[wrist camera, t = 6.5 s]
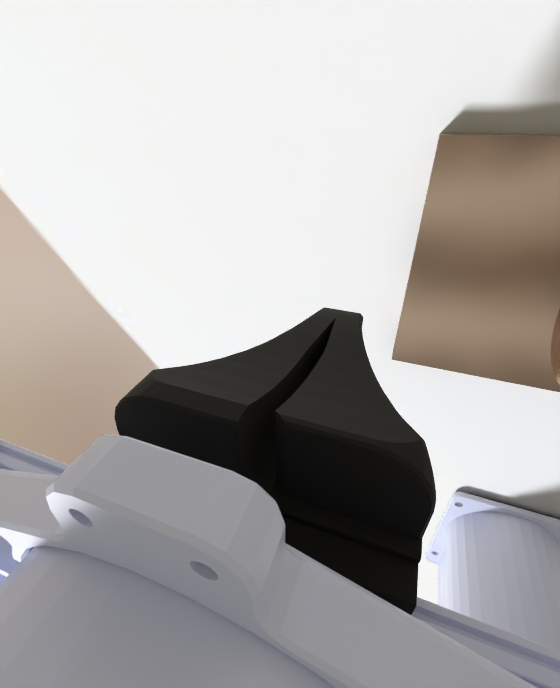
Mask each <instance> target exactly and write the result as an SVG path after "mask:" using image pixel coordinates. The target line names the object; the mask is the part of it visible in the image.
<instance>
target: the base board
mask: <svg viewBox="0 0 560 688" xmlns="http://www.w3.org/2000/svg"><path fill="white" fill-rule="evenodd" d="M559 309H560V135H505V134H443V133H440V135H439V140H438V145H437V149H436V154H435V159H434V163H433V168H432V172H431V177H430V182H429V186H428V191H427V196H426V200H425V205H424V210H423V214H422V219H421V224H420V228H419V233H418V238H417V242H416V247H415V252H414V256H413V261H412V266H411V270H410V275H409V280H408V284H407V289H406V294H405V298H404V303H403V308H402V312H401V317H400V322H399V326H398V331H397V336H396V340H395V345H394V350H393V355H392V360H397V361H403V362H408V363H413V364H418V365H423V366H428V367H433V368H439V369H444V370H449V371H454V372H459V373H464V374H469V375H474V376H480V377H485V378H490V379H495V380H500V381H505V382H510V383H516V384H521V385H526V386H531V387H536V388H541V389H546V390H551V391H557V392H560V385H559V383H558V382H557V380H556V378H555V376H554V373H553V369H552V364H551V341H552V334H553V329H554V325H555V321H556V317H557V314H558V312H559Z"/></svg>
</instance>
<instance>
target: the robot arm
mask: <svg viewBox="0 0 560 688" xmlns="http://www.w3.org/2000/svg"><path fill="white" fill-rule="evenodd" d="M362 322H363V316H362V315H361V314H360V313H354V312H348V311H342V310H336V309H330V308H323V309H321V310H320V311H318V312H317V313H315V314H314V315H312V316H311V317H309V318H308V319H306V320H305V321H303V322H301V323H300V324H298V325H297V326H295V327H294V328H292V329H290V330H288V331H286V332H285V333H283V334H281V335H279V336H277V337H276V338H274V339H272V340H270V341H268V342H265V343H263V344H261V345H259V346H256V347H254V348H251V349H249V350H246V351H243V352H240V353H237V354H234V355H230V356H227V357H224V358H221V359H217V360H212V361H208V362H204V363H199V364H194V365H188V366H181V367H173V368H165V369H156V370H153V371H151V372H150V373H149V374H148V375H147V376H146V377H145V378H144V379H143V380H142V381H141V382H140V383H138V384H137V385H136V386H135V387H134V388H133V389H132V390H131V391H130V392H129V393H128V394H127V395H126V396H125V397H124V398H122V399H121V400H120V402H119V403H118V405H117V406H116V409H115V421H116V426H117V429H118V432H119V435H111V434H109V435H108V434H103V435H102V436H101V437H99V438H98V439H97V440H95V441H94V442H93V443H92V444H91V445H90V446H89V447H88V448H87V449H86V450H85V451H84V452H83V453H82V454H81V455H80V456H79V457H78V458H77V459H76V460H75V461H74V462H73V463H72V464H71V465H67V464H65V463H62V462H59V461H57V460H54V459H52V458H49V457H46V456H44V455H41V454H38V453H36V452H33V451H31V450H28V449H25V448H23V447H19V446H17V445H15V444H12V443H9V442H7V441H4V440H2V439H0V688H560V520H559V519H556V518H552V517H549V516H545V515H542V514H538V513H535V512H531V511H528V510H524V509H520V508H517V507H513V506H510V505H506V504H503V503H499V502H496V501H492V500H489V499H485V498H482V497H478V496H475V495H471V494H468V493H464V492H455V493H454V494H453V495H452V497H451V499H450V502H449V504H448V506H447V508H446V510H445V512H444V515H443V517H442V519H441V521H440V523H439V525H438V528H437V530H436V532H435V534H434V536H433V538H432V541H431V543H430V545H429V547H428V549H427V551H426V559H427V560H428V561H430V562H433V563H436V564H438V605H437V604H434V603H431V602H429V601H426V600H423V599H421V598H418V597H417V580H418V563H419V562H420V560H421V553H422V537H423V535H424V533H425V530H426V528H427V526H428V524H429V521H430V519H431V517H432V514H433V512H434V508H435V503H436V490H435V482H434V476H433V471H432V466H431V462H430V458H429V454H428V451H427V447H426V444H425V441H424V440H423V439H422V438H421V437H420V436H419V435H418V434H417V432H416V431H415V430H414V429H413V428H412V427H411V426H410V425H409V424H408V423H407V422H406V421H405V420H404V419H403V418H402V417H401V416H400V415H399V413H398V412H397V411H396V409H395V408H394V406H393V405H392V404H391V402H390V401H389V399H388V398H387V396H386V395H385V393H384V392H383V390H382V388H381V386H380V384H379V383H378V381H377V379H376V377H375V374H374V372H373V370H372V368H371V365H370V362H369V359H368V356H367V353H366V350H365V346H364V341H363V336H362Z"/></svg>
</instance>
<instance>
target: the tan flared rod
mask: <svg viewBox="0 0 560 688" xmlns="http://www.w3.org/2000/svg"><path fill="white" fill-rule="evenodd" d="M551 364H552V369H553V373H554V376H555V378H556V380H557V382H558V383H559V385H560V309H559V312H558V314H557V317H556V321H555V325H554V329H553V334H552V341H551Z"/></svg>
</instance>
